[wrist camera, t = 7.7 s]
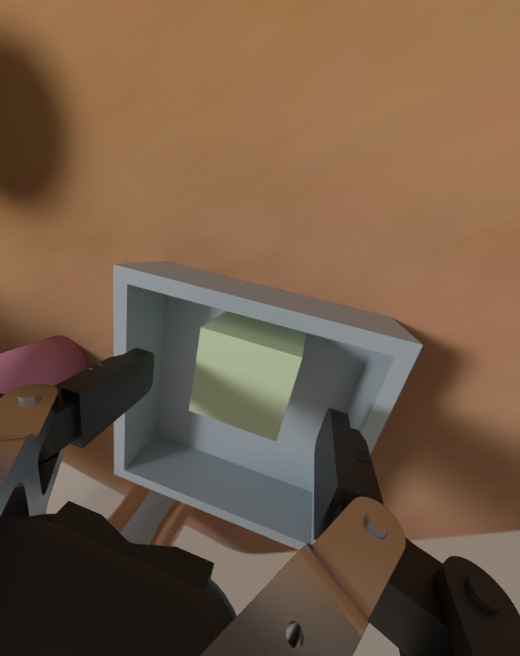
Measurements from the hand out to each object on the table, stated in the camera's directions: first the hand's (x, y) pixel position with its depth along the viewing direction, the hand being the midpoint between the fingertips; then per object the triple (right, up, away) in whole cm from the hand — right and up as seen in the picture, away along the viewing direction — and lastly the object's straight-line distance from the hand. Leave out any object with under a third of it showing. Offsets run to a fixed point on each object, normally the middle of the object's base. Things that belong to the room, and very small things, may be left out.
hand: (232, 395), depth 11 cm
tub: (0, -1, +7) cm, 7 cm away
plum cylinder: (-16, 0, +10) cm, 18 cm away
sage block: (+1, +2, +5) cm, 5 cm away
